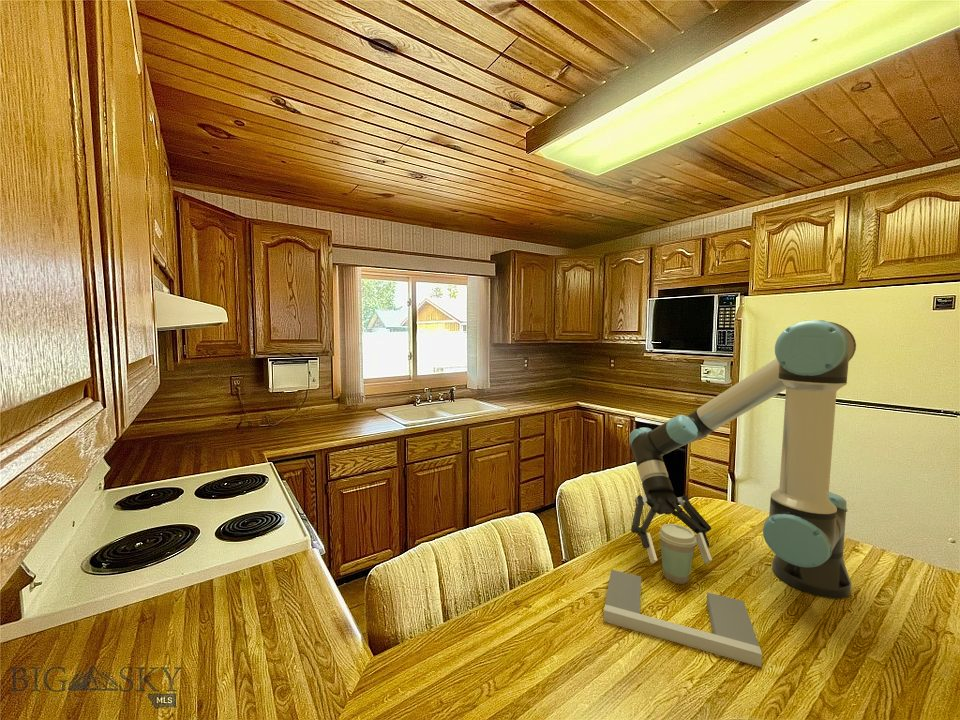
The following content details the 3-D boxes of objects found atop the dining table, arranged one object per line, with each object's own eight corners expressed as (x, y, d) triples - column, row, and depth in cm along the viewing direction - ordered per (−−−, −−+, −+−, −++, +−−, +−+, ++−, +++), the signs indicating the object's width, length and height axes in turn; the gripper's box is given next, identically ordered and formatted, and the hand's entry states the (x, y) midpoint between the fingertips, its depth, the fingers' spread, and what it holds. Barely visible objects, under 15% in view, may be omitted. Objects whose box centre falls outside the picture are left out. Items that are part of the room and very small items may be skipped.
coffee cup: (699, 589, 94) (702, 541, 94) (661, 584, 96) (663, 537, 95) (688, 569, 103) (690, 524, 102) (653, 564, 104) (655, 521, 104)
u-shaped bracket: (743, 611, 87) (743, 600, 87) (761, 667, 72) (762, 654, 72) (610, 579, 98) (611, 569, 98) (603, 621, 83) (604, 610, 83)
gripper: (692, 485, 114) (723, 565, 100) (607, 485, 113) (626, 565, 99) (704, 474, 108) (738, 557, 94) (615, 474, 108) (636, 557, 94)
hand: (681, 562), depth 97 cm, fingers open, 13 cm apart
